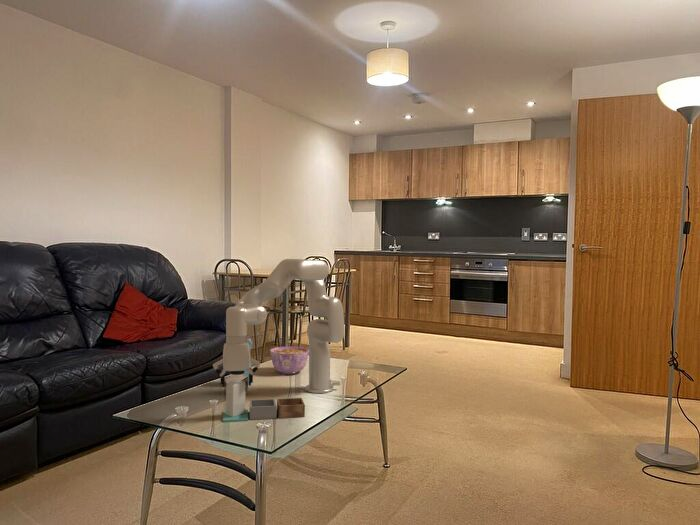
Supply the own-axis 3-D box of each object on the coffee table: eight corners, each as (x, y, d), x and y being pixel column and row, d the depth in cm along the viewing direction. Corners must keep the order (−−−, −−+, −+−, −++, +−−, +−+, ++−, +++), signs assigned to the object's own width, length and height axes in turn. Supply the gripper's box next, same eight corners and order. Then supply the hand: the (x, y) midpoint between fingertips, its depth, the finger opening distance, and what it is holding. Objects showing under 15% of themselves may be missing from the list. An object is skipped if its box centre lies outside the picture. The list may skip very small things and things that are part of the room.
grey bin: (274, 410, 202) (274, 398, 202) (276, 418, 193) (276, 406, 193) (249, 411, 200) (249, 400, 200) (250, 419, 191) (250, 407, 191)
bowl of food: (284, 379, 251) (284, 355, 251) (261, 371, 266) (262, 349, 266) (316, 373, 265) (317, 350, 264) (293, 366, 279) (293, 345, 279)
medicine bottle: (241, 396, 221) (241, 367, 221) (225, 394, 223) (226, 366, 223) (248, 391, 228) (248, 364, 228) (232, 390, 230) (233, 363, 230)
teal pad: (247, 410, 201) (247, 409, 201) (248, 420, 189) (248, 419, 189) (223, 411, 199) (223, 410, 199) (222, 422, 187) (222, 420, 187)
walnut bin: (301, 409, 204) (301, 397, 204) (304, 416, 195) (304, 404, 195) (276, 410, 202) (277, 398, 202) (278, 418, 193) (279, 406, 193)
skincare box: (238, 411, 198) (238, 379, 198) (245, 413, 195) (246, 381, 195) (225, 415, 193) (225, 382, 193) (232, 417, 191) (233, 384, 190)
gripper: (259, 337, 199) (259, 381, 200) (213, 338, 196) (213, 384, 196) (260, 341, 192) (260, 386, 193) (212, 342, 188) (212, 389, 189)
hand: (236, 385), depth 194 cm, fingers open, 9 cm apart
